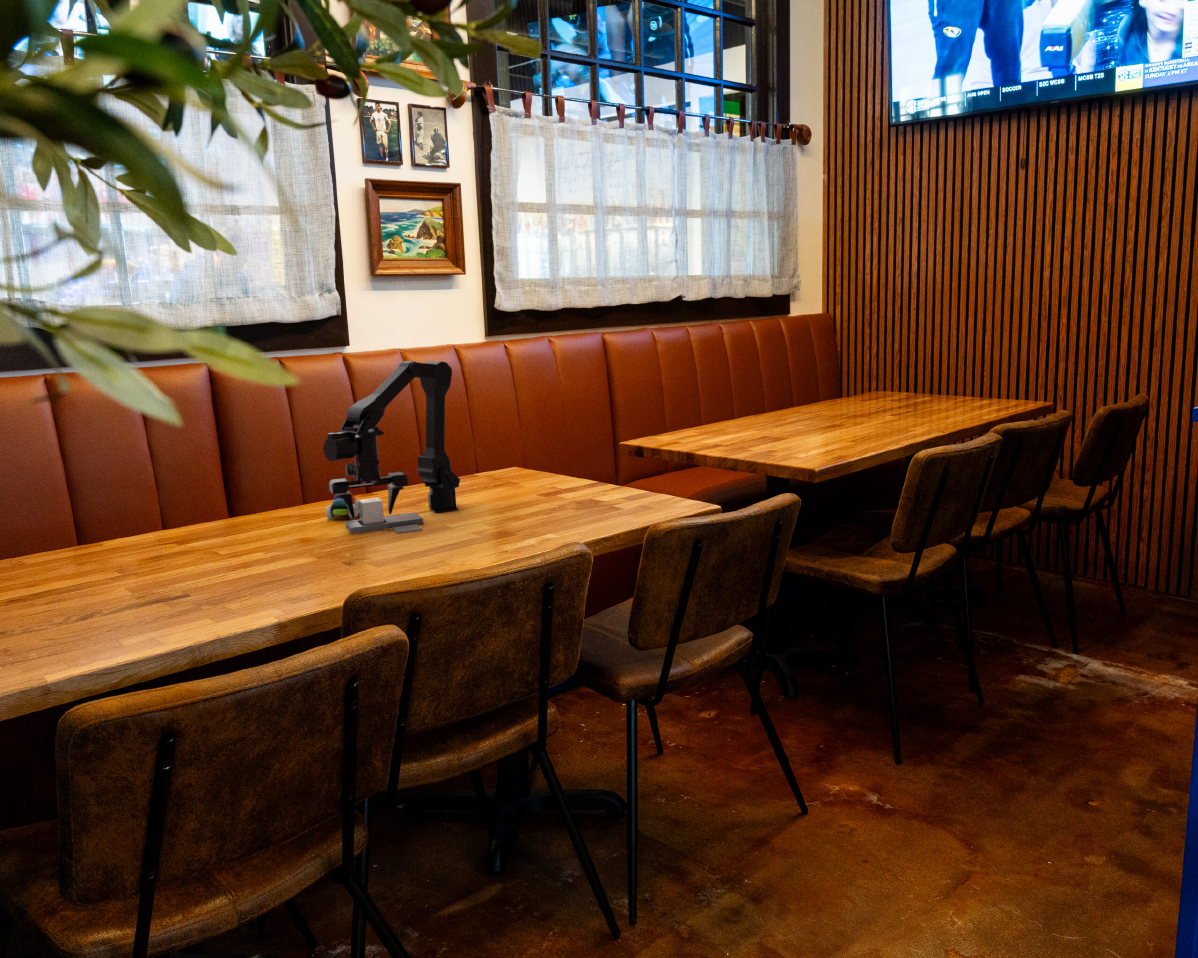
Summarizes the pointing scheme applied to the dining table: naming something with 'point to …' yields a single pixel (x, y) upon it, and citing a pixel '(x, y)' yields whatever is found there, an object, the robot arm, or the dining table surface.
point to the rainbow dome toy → (341, 507)
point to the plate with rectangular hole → (385, 523)
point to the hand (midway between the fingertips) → (371, 516)
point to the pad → (406, 528)
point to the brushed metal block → (371, 511)
